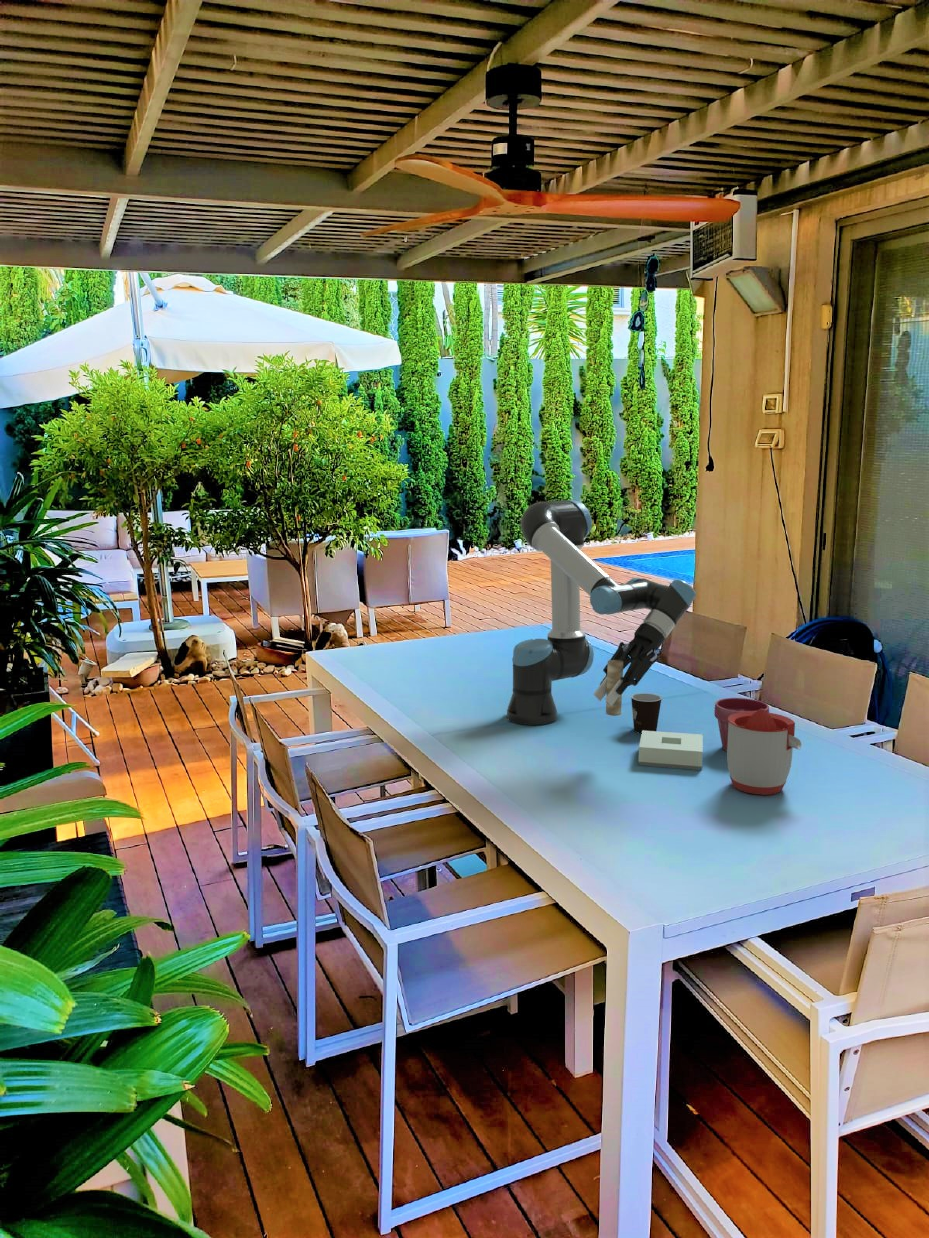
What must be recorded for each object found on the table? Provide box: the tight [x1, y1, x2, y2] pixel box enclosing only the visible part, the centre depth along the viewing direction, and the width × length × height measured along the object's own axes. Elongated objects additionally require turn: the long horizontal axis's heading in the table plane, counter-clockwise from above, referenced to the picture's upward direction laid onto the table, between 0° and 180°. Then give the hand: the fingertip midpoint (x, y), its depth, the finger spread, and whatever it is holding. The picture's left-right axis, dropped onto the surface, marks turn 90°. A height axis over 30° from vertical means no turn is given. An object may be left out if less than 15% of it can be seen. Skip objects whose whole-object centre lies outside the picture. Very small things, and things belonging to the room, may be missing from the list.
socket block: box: [637, 730, 704, 771], centre depth 251 cm, size 16×14×5 cm
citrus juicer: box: [726, 709, 802, 796], centre depth 229 cm, size 16×17×20 cm
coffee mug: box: [630, 692, 663, 734], centre depth 275 cm, size 12×9×10 cm
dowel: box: [605, 659, 624, 717], centre depth 247 cm, size 4×4×14 cm
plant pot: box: [713, 697, 770, 752], centre depth 257 cm, size 14×14×13 cm
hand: (602, 699), depth 246 cm, fingers closed on dowel, 4 cm apart
